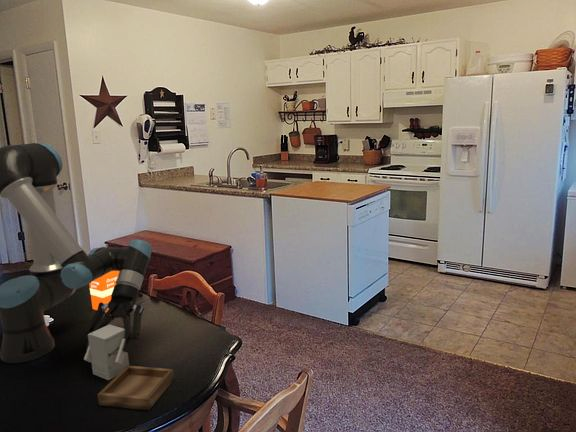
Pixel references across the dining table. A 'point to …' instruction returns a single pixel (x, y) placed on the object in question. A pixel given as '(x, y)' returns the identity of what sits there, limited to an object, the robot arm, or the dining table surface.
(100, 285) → the orange juice
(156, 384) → the tray
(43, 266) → the robot arm
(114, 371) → the supplement box
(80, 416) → the dining table surface
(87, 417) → the dining table surface
